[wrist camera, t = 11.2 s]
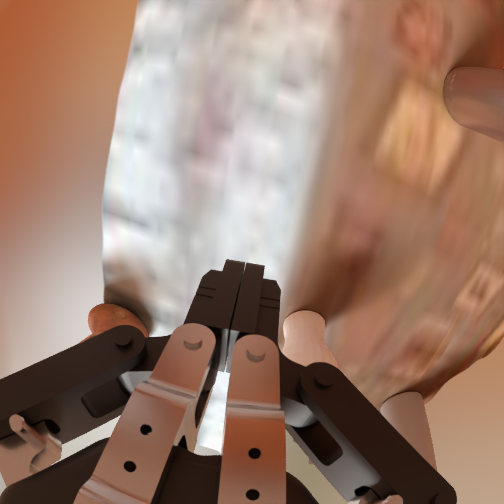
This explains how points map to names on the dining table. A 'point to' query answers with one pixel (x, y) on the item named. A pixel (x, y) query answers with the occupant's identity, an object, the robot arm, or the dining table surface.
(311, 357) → the white flared cylinder
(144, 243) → the dining table surface
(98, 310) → the ceramic jug
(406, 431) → the cylinder vase
